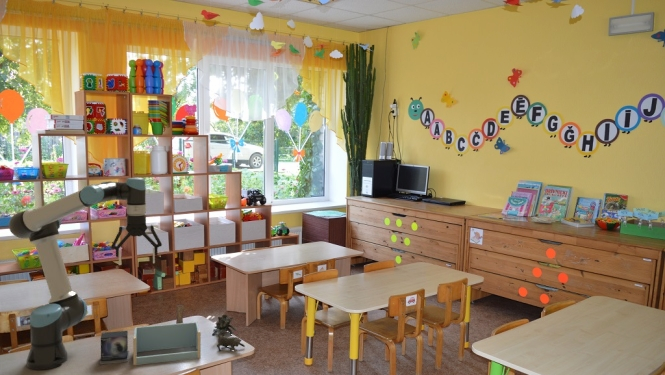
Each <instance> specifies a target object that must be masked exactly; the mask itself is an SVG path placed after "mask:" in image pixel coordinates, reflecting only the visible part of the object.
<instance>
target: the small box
mask: <svg viewBox="0 0 665 375" xmlns="http://www.w3.org/2000/svg"><path fill="white" fill-rule="evenodd" d="M128 339H129V337H128V330H118V331H108V332H107V331H105V332H101V336H100V360H101V361H110V360H120V359H127V357H128V358H129V356H128V351H129V348H128V345H129V344H128V343H129V342H128V341H129V340H128Z"/></svg>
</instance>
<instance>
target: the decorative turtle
mask: <svg viewBox="0 0 665 375" xmlns="http://www.w3.org/2000/svg"><path fill="white" fill-rule="evenodd" d="M217 319H218V321H217V323H216V324H215V325H216V326H214V328H213V330H212V332H213V333H212V334H211V335H212V336H215V334H219V333H222V334H225V333H227V332H228V333H229V336H232V337H233V331H232V330H234V331H238V330H237V328H235V326H233V325H231V322H232V321H233V319H234V317H233V316H231V317H229V316H228V315H227V314H226V313H225V314H223V315H221V316H218V317H217ZM226 331H227V332H226ZM231 334H232V335H231Z"/></svg>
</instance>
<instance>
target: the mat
mask: <svg viewBox="0 0 665 375" xmlns="http://www.w3.org/2000/svg"><path fill="white" fill-rule="evenodd" d="M129 354H130V350H128V357H127V359H120V360H110V361H101V359H100V360H99V365H100V366H101V365H109V364H118V363H126V362H127V363H128V362H129Z"/></svg>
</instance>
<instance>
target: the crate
mask: <svg viewBox="0 0 665 375" xmlns="http://www.w3.org/2000/svg"><path fill="white" fill-rule="evenodd" d="M133 333H134V334H133V338H132V344H133V346H132V348H133V349H132V350H133V352H132V353H133V354H132V355H133V357H132V358H133V359H132V360H133V363H132V364H133V366H137V365H138V366H139V365H149V364H157V363H165V362H174V361H175V362H176V361H184V360H185V361H186V360H192V359H195V360H196V359H201V356H202V354H201V353H202V352H201V350H202V348H201V346H202V344H201V338H202V337H201V336H202V335H201V334H202V332H201V330H200V327H199V324H198V321H192V322H183V323H180V324H176V323H171V324H170V323H169V324H160V325H158V324H157V325H148V326H147V325H146V326H136V327H134V332H133ZM188 347H195V348H196V350H194V351H193V350H192V351H182V352H175V353H173V352H172V353H164V354H163V353H162V354H154V355H153V354H152V355H145V356H138V353H139V352H140V353H141V352H150V351H159V350H170V349H180V348H188Z"/></svg>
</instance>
